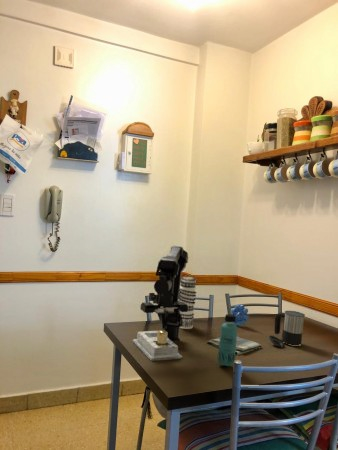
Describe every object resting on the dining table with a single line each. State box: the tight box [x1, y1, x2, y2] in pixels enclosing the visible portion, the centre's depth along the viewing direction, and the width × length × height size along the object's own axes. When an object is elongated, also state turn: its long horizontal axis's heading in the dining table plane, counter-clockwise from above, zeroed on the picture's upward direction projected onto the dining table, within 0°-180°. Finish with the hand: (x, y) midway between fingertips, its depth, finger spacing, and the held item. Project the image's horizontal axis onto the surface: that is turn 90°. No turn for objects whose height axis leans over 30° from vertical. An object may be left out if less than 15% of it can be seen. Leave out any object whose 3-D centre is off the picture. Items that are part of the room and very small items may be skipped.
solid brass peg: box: [157, 329, 168, 346], centre depth 154 cm, size 4×4×8 cm
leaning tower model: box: [178, 276, 197, 330], centre depth 194 cm, size 9×9×25 cm
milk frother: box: [268, 310, 306, 348], centre depth 179 cm, size 14×16×15 cm
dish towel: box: [206, 336, 262, 356], centre depth 172 cm, size 19×18×3 cm
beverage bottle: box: [217, 313, 239, 367], centre depth 146 cm, size 6×7×20 cm
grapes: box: [230, 304, 250, 327], centre depth 204 cm, size 12×7×12 cm, turn 42°
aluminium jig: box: [132, 330, 183, 362], centre depth 158 cm, size 13×22×4 cm, turn 24°
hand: (162, 328), depth 153 cm, fingers closed
